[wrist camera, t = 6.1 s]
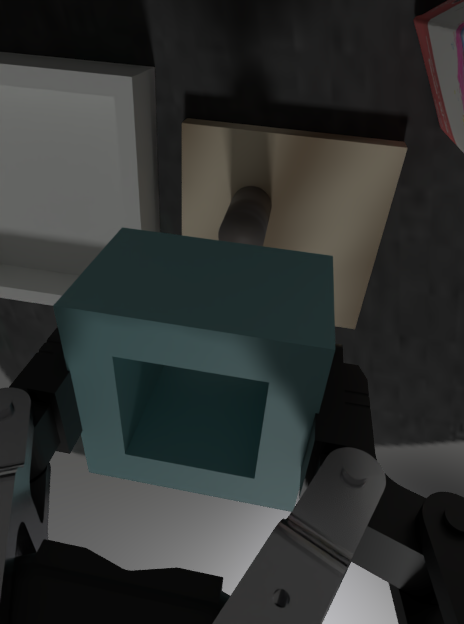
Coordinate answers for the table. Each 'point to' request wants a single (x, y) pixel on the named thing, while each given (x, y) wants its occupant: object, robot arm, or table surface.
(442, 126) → the ink cartridge box
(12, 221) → the tray
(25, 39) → the table surface
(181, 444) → the teal hollow block
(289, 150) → the peg board
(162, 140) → the table surface
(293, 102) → the table surface
